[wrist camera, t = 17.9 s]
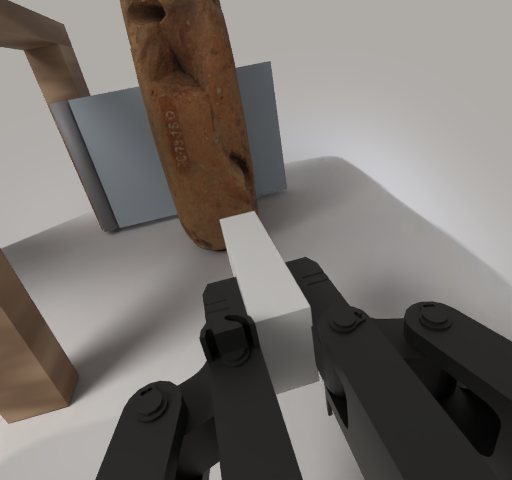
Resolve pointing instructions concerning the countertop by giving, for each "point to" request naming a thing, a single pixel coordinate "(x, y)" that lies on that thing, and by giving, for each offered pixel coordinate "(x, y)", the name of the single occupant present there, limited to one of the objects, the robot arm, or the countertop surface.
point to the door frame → (3, 276)
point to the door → (145, 152)
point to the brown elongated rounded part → (193, 111)
